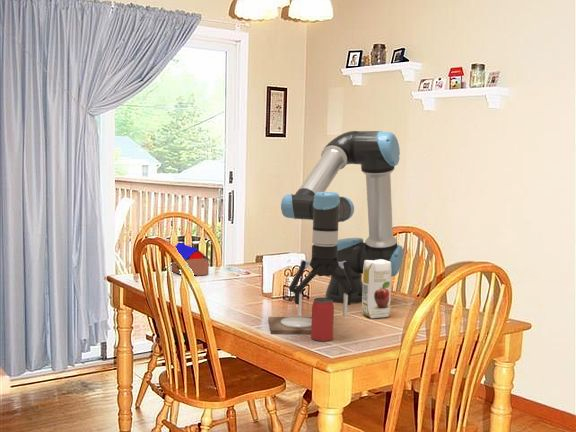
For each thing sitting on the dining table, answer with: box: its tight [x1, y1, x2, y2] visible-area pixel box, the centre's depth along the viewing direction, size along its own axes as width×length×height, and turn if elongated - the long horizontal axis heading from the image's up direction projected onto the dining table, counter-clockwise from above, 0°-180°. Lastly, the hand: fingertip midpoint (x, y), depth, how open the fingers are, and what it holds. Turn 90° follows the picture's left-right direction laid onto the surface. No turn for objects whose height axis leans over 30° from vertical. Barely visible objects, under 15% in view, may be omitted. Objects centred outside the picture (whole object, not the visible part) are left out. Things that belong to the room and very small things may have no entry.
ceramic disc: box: [281, 316, 312, 328], centre depth 217 cm, size 11×11×1 cm
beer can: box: [310, 297, 335, 342], centre depth 204 cm, size 7×7×12 cm
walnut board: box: [267, 316, 312, 335], centre depth 217 cm, size 18×16×1 cm
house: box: [171, 242, 210, 276], centre depth 305 cm, size 12×20×12 cm, turn 32°
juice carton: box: [361, 259, 392, 319], centre depth 233 cm, size 8×9×19 cm
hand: (322, 315), depth 203 cm, fingers open, 13 cm apart
